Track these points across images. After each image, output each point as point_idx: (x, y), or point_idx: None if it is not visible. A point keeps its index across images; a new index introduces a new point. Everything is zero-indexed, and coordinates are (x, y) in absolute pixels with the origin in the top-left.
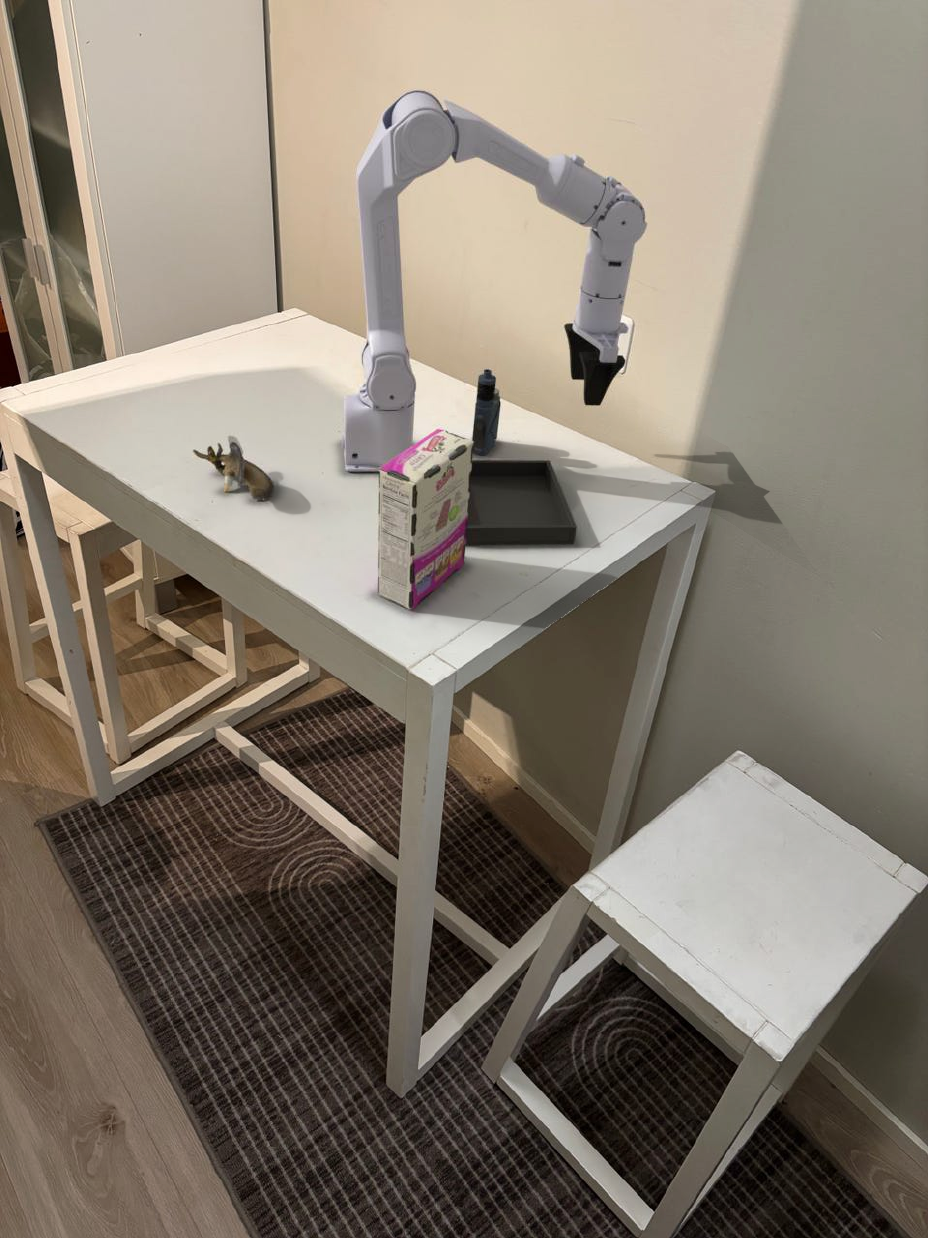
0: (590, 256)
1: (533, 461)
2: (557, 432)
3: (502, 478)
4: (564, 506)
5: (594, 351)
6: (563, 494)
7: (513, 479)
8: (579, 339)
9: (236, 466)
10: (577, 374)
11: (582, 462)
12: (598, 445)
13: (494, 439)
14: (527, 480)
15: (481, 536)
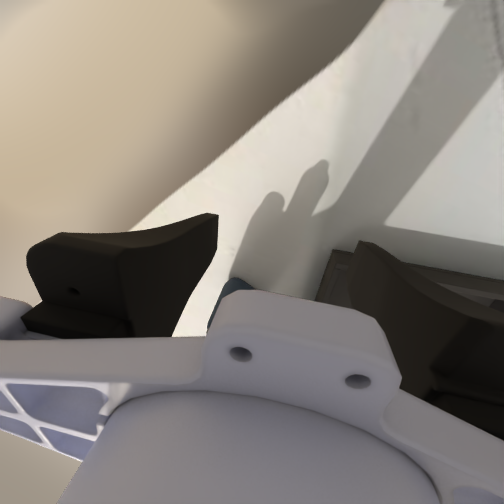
0: None
1: (332, 284)
2: (209, 185)
3: (328, 303)
4: (471, 294)
5: (180, 243)
6: (439, 282)
7: (334, 294)
8: (164, 324)
9: None
10: (213, 245)
11: (307, 182)
12: (256, 127)
13: (242, 286)
14: (342, 281)
15: None
